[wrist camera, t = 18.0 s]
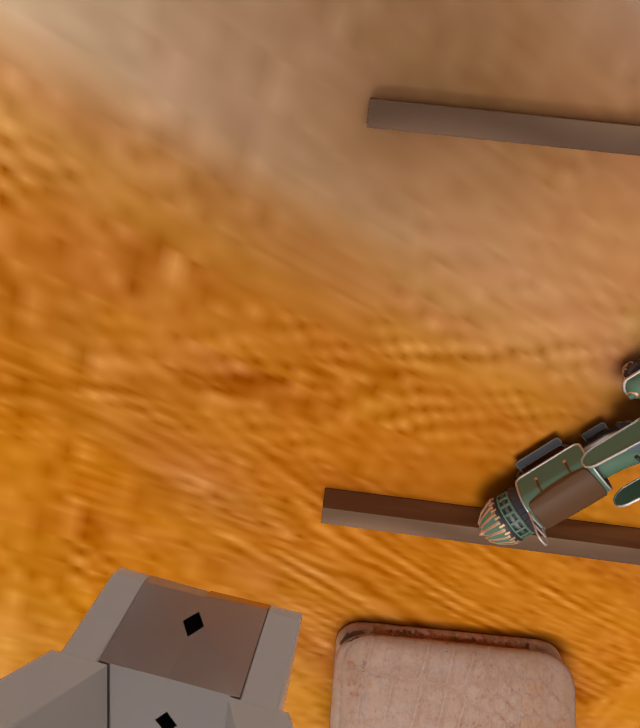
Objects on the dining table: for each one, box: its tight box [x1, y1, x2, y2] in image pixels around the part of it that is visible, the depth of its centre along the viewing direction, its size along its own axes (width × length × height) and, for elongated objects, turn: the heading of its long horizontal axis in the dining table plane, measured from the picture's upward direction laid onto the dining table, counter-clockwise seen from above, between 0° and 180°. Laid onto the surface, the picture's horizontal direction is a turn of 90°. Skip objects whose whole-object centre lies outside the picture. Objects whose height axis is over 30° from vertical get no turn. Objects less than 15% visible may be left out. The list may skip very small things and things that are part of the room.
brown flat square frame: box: [321, 98, 640, 565], centre depth 41 cm, size 30×32×3 cm
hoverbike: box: [478, 359, 640, 546], centre depth 41 cm, size 10×25×8 cm, turn 132°
